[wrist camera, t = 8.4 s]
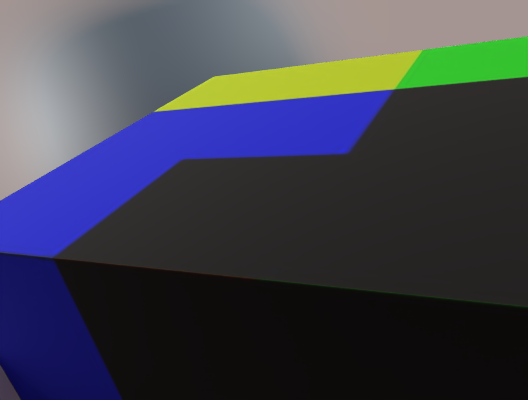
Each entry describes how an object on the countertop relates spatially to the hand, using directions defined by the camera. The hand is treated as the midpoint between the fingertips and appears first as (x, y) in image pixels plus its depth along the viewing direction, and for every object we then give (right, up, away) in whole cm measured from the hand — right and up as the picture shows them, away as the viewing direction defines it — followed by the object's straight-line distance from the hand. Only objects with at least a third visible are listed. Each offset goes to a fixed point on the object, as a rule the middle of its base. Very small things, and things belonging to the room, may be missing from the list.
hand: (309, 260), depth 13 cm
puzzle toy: (+2, -6, +2) cm, 6 cm away
